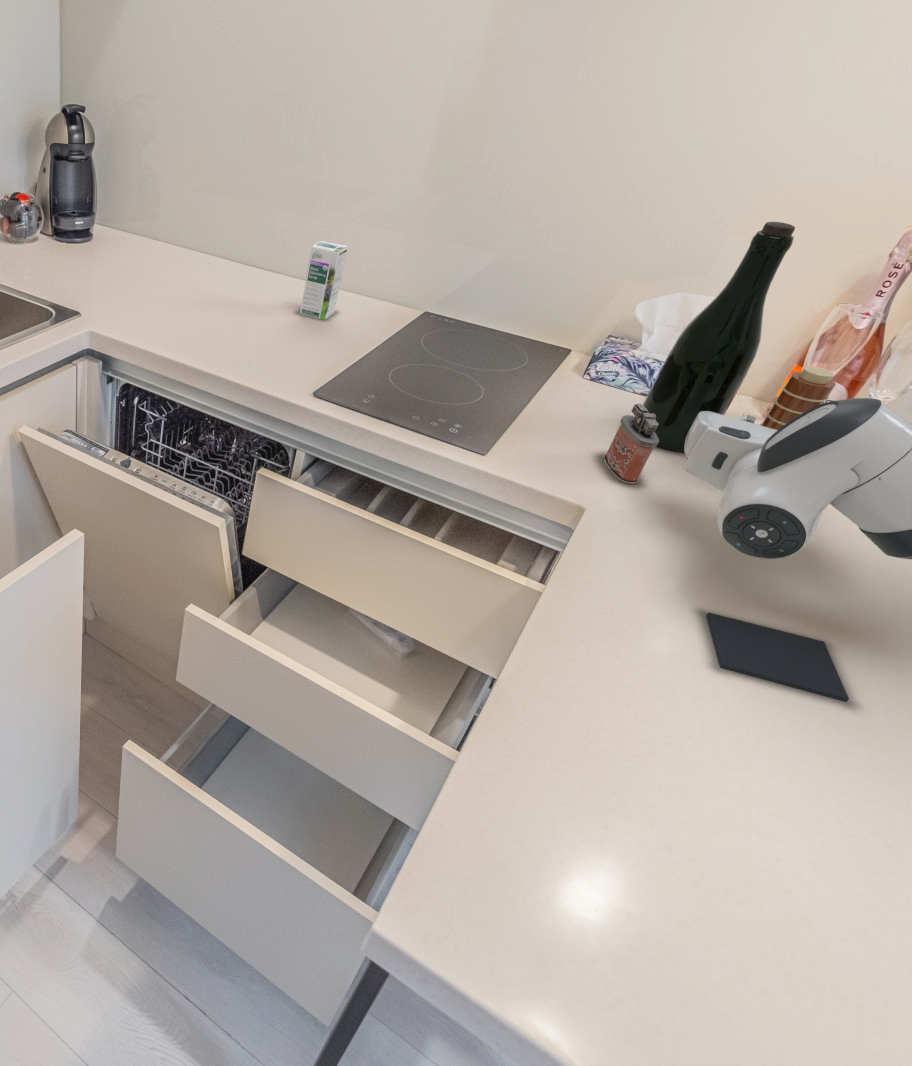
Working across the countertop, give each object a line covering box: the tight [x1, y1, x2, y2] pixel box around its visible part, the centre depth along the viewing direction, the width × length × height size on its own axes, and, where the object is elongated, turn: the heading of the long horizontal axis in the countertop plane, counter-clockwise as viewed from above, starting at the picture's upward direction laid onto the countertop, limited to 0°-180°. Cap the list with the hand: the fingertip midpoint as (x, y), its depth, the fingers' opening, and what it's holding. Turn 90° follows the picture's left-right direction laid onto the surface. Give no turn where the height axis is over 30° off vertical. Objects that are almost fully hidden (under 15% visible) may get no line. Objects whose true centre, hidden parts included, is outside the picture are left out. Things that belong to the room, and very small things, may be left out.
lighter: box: [602, 403, 659, 486], centre depth 109 cm, size 8×3×10 cm, turn 171°
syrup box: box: [299, 240, 349, 321], centre depth 157 cm, size 6×6×14 cm
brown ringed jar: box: [759, 365, 836, 430], centre depth 105 cm, size 5×5×11 cm
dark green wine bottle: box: [641, 221, 796, 454], centre depth 111 cm, size 10×10×33 cm
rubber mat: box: [706, 611, 850, 703], centre depth 82 cm, size 11×9×1 cm
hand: (789, 432), depth 98 cm, fingers open, 8 cm apart
